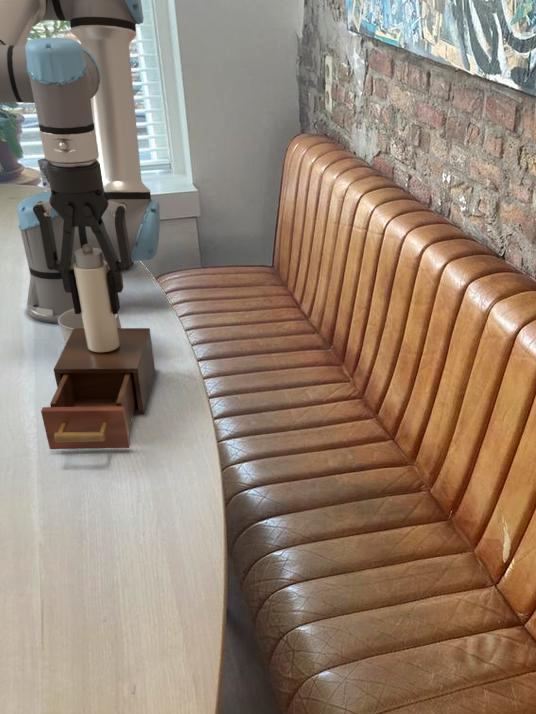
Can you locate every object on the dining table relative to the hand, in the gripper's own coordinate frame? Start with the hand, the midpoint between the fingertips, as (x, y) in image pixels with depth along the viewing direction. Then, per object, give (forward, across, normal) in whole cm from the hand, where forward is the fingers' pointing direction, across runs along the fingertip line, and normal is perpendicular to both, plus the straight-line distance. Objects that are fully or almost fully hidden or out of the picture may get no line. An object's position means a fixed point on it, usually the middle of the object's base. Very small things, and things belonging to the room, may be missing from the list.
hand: (97, 310), depth 126 cm
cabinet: (+15, 0, 0) cm, 15 cm away
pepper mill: (+6, 0, 0) cm, 6 cm away
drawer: (+14, 0, -14) cm, 20 cm away
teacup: (+15, -5, +16) cm, 23 cm away
